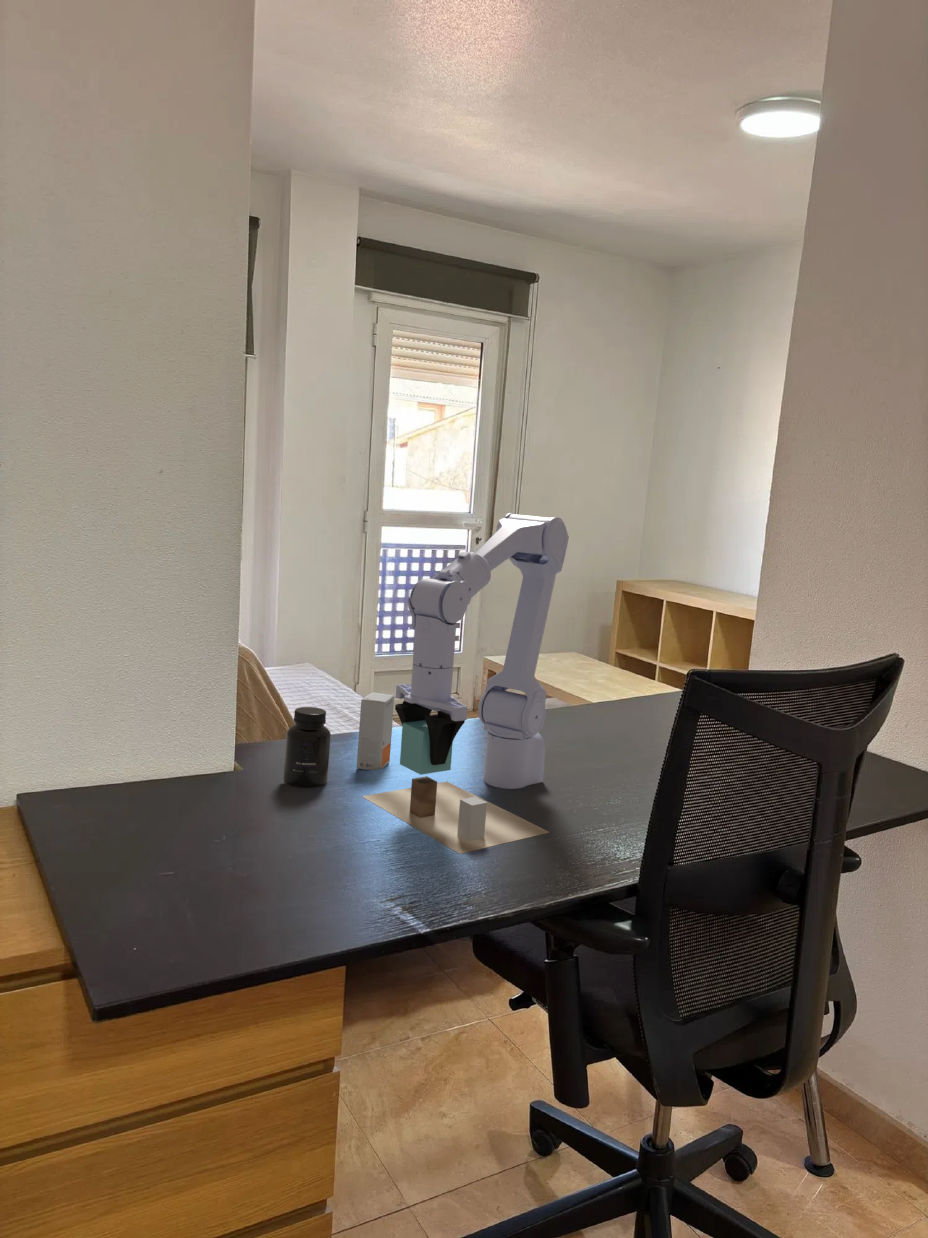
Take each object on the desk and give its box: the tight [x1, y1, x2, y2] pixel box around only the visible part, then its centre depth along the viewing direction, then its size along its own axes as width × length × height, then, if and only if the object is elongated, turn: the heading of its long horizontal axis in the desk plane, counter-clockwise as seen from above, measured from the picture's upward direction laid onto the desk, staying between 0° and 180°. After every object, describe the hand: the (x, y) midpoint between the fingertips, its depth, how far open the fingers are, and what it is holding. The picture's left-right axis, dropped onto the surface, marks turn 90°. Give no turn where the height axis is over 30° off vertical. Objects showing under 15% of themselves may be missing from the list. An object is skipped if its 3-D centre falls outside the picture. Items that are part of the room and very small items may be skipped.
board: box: [361, 781, 550, 855], centre depth 132 cm, size 16×24×1 cm, turn 38°
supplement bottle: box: [283, 706, 332, 789], centre depth 140 cm, size 7×7×12 cm
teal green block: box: [399, 720, 454, 775], centre depth 129 cm, size 5×5×6 cm
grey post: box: [457, 797, 487, 841], centre depth 123 cm, size 3×3×5 cm
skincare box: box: [356, 691, 395, 771], centre depth 153 cm, size 6×4×12 cm
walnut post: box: [410, 775, 438, 818], centre depth 130 cm, size 3×3×5 cm
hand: (426, 758), depth 129 cm, fingers closed on teal green block, 5 cm apart
